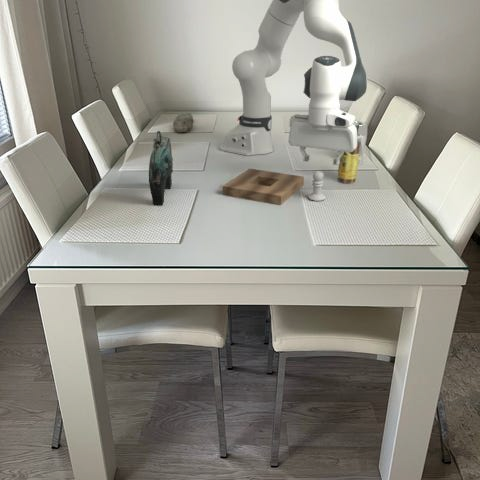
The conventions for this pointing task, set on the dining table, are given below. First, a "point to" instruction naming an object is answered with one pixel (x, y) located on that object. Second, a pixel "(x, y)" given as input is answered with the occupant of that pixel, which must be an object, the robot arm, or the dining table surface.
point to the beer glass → (362, 139)
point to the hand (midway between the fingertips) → (320, 162)
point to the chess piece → (317, 187)
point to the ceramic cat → (160, 168)
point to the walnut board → (263, 186)
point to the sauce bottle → (349, 163)
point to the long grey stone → (183, 122)
